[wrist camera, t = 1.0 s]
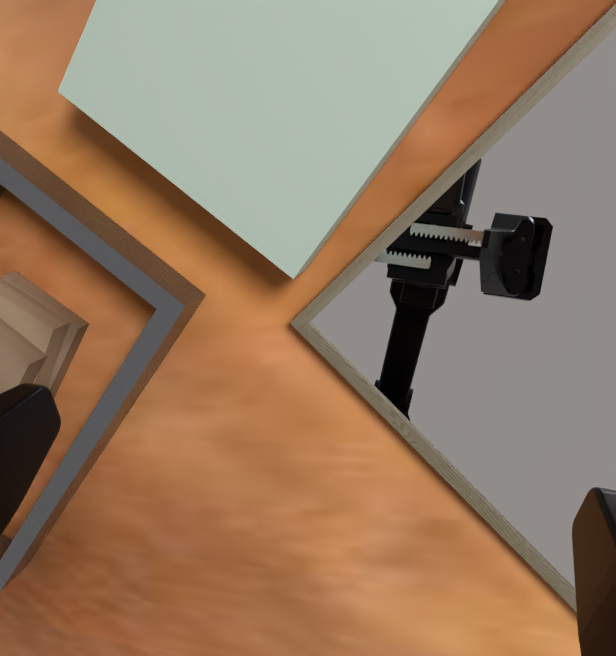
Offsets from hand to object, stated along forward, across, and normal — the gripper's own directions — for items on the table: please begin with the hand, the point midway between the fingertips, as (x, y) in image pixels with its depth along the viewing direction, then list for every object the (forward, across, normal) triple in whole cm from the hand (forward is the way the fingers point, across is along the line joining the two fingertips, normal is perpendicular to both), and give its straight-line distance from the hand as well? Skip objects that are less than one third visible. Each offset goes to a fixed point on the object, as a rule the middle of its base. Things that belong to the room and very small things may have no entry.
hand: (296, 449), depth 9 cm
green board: (+16, +5, -4) cm, 17 cm away
